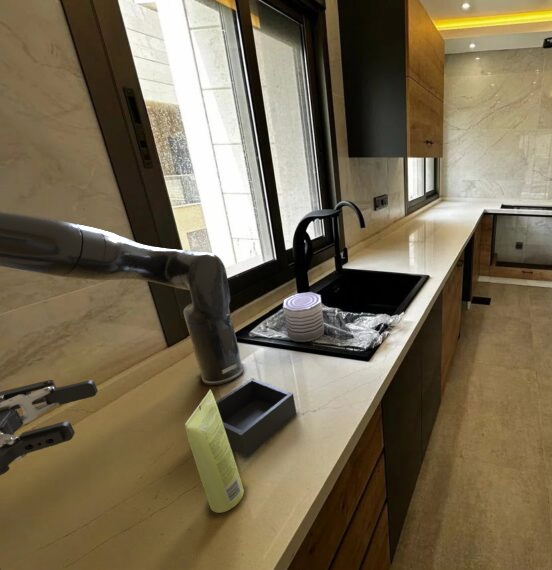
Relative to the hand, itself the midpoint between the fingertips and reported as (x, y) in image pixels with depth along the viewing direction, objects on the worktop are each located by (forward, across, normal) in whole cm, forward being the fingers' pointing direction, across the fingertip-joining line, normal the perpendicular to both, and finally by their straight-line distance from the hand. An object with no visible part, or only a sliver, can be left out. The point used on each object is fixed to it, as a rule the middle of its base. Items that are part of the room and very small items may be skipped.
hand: (84, 406), depth 41 cm
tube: (+11, 0, +24) cm, 27 cm away
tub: (+16, +16, +24) cm, 33 cm away
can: (+34, +50, +24) cm, 66 cm away
